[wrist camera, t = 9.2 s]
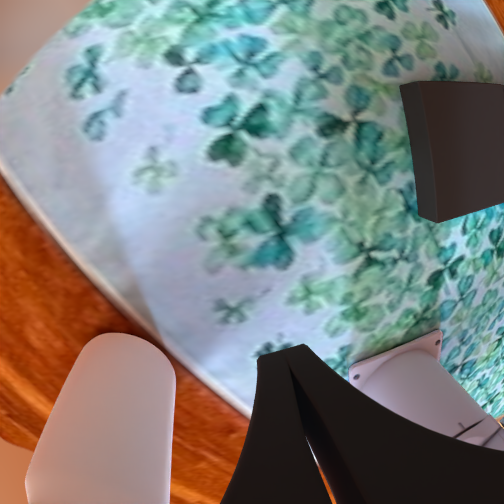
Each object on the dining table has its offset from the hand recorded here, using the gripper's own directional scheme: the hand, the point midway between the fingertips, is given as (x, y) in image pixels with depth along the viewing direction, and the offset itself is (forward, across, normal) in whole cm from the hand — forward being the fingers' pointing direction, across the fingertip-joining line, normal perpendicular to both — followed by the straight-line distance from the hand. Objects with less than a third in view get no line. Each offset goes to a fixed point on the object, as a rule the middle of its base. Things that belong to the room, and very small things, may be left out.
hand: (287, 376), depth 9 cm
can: (+10, +9, +5) cm, 14 cm away
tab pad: (+9, -15, -4) cm, 18 cm away
